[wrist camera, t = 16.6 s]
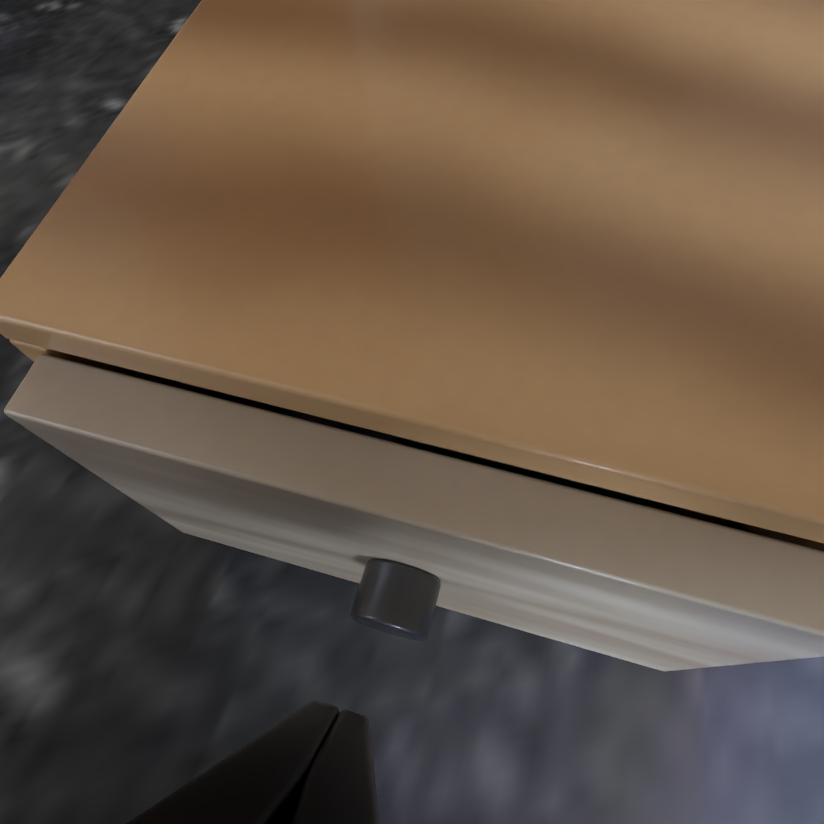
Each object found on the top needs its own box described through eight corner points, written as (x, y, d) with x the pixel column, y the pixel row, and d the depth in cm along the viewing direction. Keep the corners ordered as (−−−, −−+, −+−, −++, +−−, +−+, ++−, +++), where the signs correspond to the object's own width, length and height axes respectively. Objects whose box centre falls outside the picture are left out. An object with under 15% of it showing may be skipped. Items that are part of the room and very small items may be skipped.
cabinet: (680, 633, 16) (984, 562, 7) (191, 496, 18) (-29, 312, 9) (714, 196, 23) (892, -109, 14) (358, 132, 25) (322, -170, 16)
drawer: (661, 724, 14) (893, 754, 7) (161, 574, 16) (-46, 480, 9) (705, 219, 21) (844, -18, 14) (352, 154, 23) (320, -85, 16)
